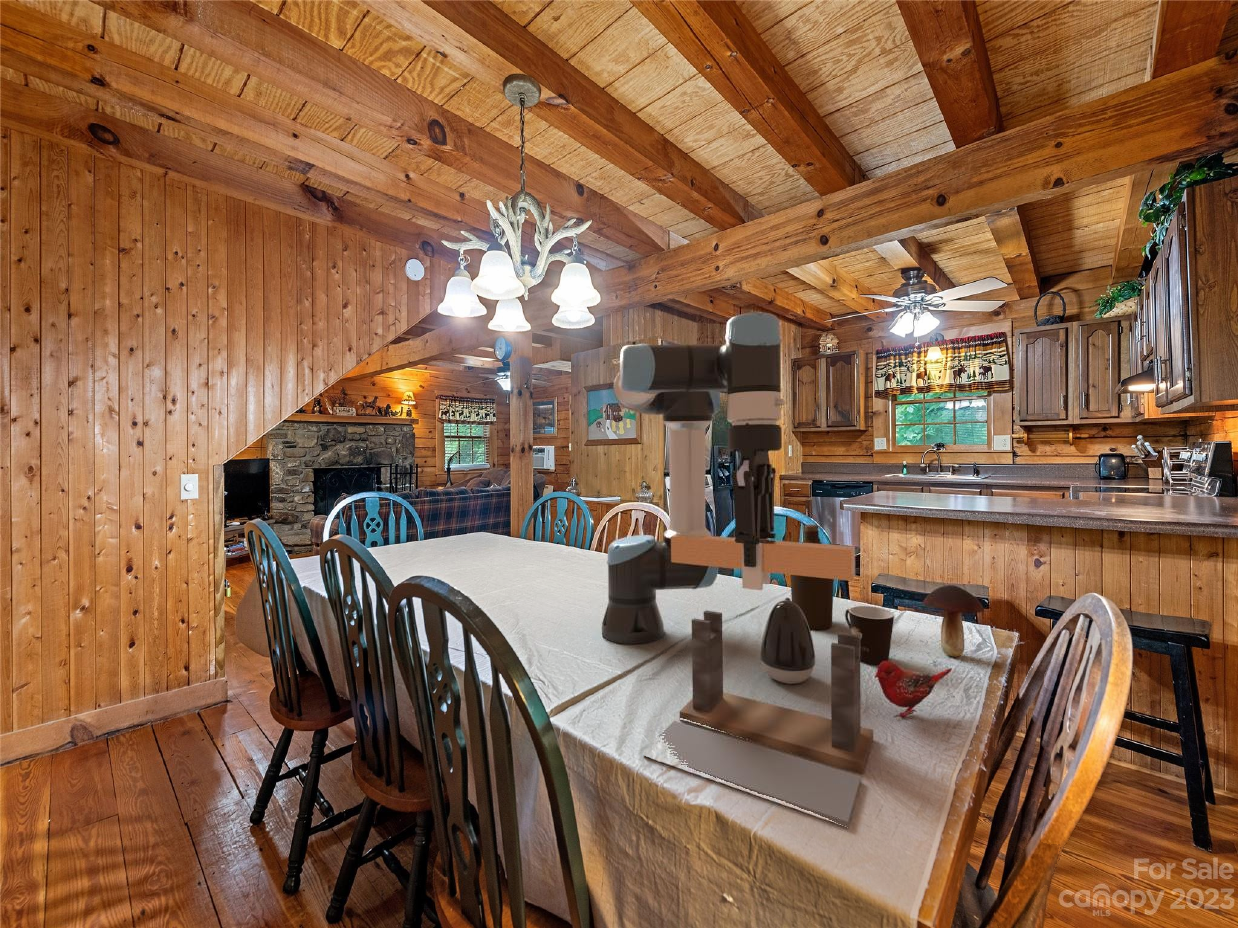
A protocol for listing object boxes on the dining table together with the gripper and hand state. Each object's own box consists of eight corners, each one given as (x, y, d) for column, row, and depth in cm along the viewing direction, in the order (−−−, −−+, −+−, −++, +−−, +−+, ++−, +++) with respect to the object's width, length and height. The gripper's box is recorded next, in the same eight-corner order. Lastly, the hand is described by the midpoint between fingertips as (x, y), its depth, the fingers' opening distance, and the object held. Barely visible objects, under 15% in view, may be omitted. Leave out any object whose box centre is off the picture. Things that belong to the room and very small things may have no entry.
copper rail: (671, 562, 82) (670, 536, 82) (679, 558, 85) (679, 533, 85) (851, 580, 68) (851, 550, 68) (855, 575, 71) (854, 546, 71)
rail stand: (679, 719, 88) (678, 621, 87) (704, 695, 96) (702, 605, 95) (863, 774, 72) (862, 655, 72) (873, 739, 81) (873, 633, 80)
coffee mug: (900, 669, 105) (900, 619, 105) (854, 666, 107) (853, 617, 107) (883, 647, 117) (883, 602, 117) (841, 644, 119) (841, 601, 118)
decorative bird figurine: (867, 720, 86) (867, 660, 86) (944, 699, 93) (944, 643, 92) (882, 728, 84) (881, 666, 83) (960, 707, 90) (960, 649, 90)
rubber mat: (643, 756, 78) (643, 751, 77) (674, 725, 86) (674, 720, 86) (847, 828, 62) (847, 821, 62) (861, 782, 71) (861, 776, 71)
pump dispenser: (815, 669, 106) (814, 595, 105) (816, 693, 96) (815, 610, 96) (762, 664, 109) (761, 591, 109) (758, 685, 99) (757, 606, 99)
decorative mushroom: (912, 647, 116) (911, 580, 116) (958, 644, 117) (958, 578, 117) (946, 667, 106) (947, 593, 105) (998, 665, 106) (998, 591, 106)
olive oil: (805, 632, 126) (804, 529, 126) (782, 619, 137) (781, 523, 136) (844, 628, 129) (843, 527, 128) (818, 615, 139) (817, 521, 138)
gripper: (763, 420, 67) (766, 603, 68) (794, 424, 81) (796, 576, 81) (708, 423, 71) (711, 595, 72) (746, 426, 85) (748, 571, 85)
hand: (756, 585), depth 77 cm, fingers closed on copper rail, 3 cm apart
